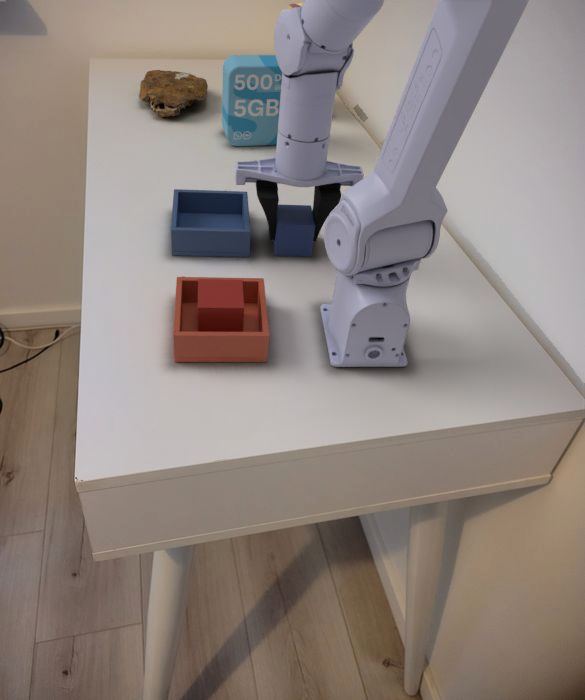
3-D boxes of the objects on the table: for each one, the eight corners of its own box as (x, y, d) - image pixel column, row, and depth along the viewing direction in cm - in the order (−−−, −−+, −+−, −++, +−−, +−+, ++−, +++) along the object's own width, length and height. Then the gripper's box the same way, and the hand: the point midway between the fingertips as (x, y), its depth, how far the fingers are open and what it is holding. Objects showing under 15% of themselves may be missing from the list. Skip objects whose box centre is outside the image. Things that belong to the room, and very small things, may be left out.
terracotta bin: (267, 362, 64) (269, 335, 62) (174, 362, 63) (173, 335, 61) (261, 303, 71) (263, 277, 69) (177, 302, 70) (176, 276, 67)
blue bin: (249, 257, 77) (250, 231, 75) (171, 255, 76) (170, 229, 74) (246, 215, 84) (247, 191, 81) (174, 213, 83) (173, 189, 80)
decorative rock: (212, 125, 103) (204, 90, 114) (213, 99, 100) (205, 67, 111) (139, 120, 100) (138, 86, 111) (139, 94, 98) (137, 61, 109)
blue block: (311, 256, 79) (315, 225, 75) (274, 256, 78) (277, 224, 75) (307, 236, 82) (311, 205, 79) (272, 235, 81) (274, 204, 78)
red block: (242, 341, 65) (244, 307, 62) (198, 341, 65) (197, 307, 62) (241, 313, 69) (242, 279, 66) (198, 312, 68) (198, 278, 65)
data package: (226, 147, 97) (228, 66, 89) (221, 133, 100) (222, 54, 92) (302, 144, 100) (310, 65, 92) (295, 131, 103) (302, 54, 95)
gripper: (362, 118, 73) (345, 220, 83) (236, 111, 71) (232, 216, 81) (374, 146, 68) (354, 251, 78) (238, 140, 66) (234, 249, 76)
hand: (292, 236), depth 79 cm, fingers closed on blue block, 4 cm apart
